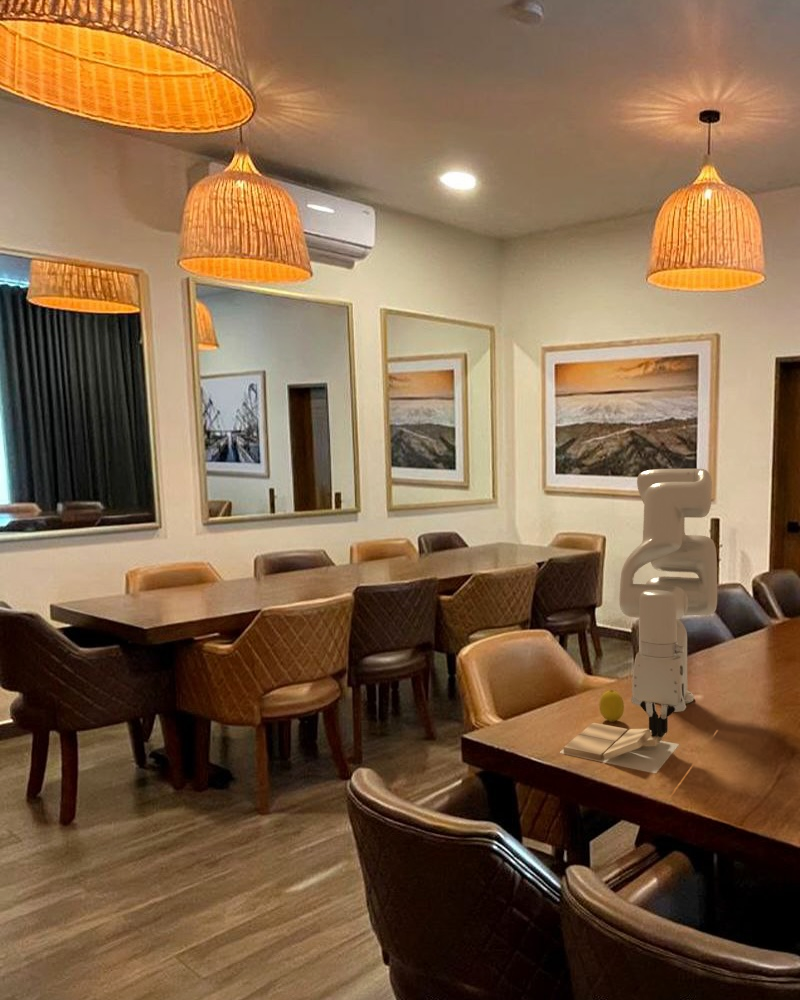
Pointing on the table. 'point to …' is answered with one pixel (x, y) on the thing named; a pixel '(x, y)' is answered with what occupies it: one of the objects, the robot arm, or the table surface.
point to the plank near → (627, 744)
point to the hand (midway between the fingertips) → (658, 734)
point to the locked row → (594, 741)
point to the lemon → (611, 705)
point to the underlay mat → (642, 757)
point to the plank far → (650, 741)
